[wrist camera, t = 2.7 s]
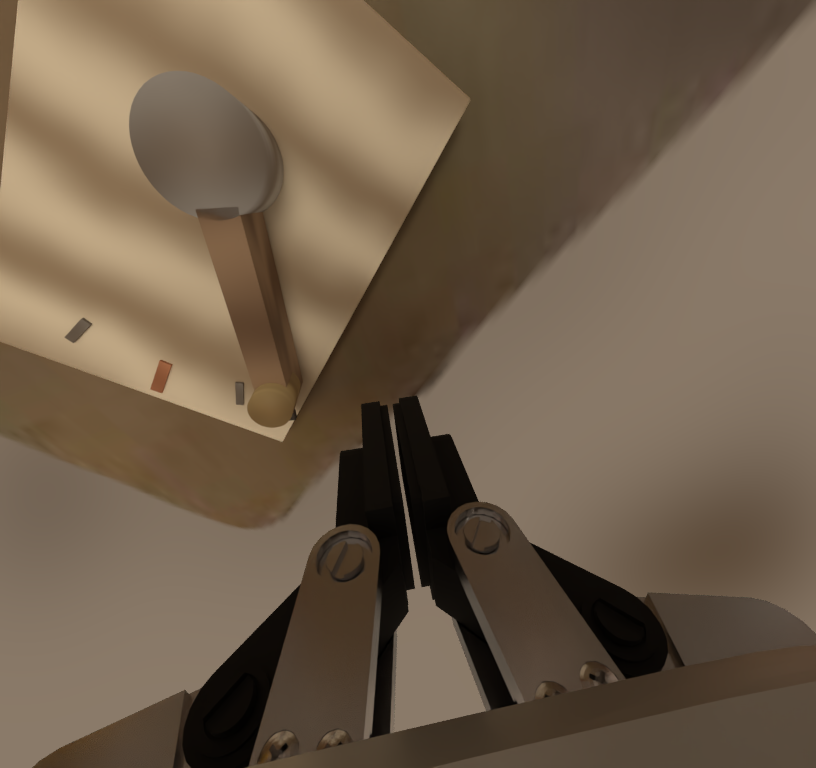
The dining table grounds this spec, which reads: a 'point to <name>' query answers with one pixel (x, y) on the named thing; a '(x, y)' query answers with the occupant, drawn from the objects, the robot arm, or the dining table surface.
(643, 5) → the dining table surface
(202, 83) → the lever
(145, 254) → the dial board
